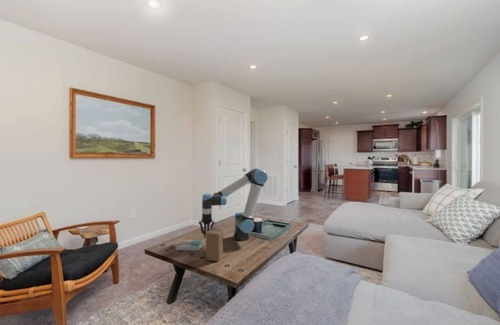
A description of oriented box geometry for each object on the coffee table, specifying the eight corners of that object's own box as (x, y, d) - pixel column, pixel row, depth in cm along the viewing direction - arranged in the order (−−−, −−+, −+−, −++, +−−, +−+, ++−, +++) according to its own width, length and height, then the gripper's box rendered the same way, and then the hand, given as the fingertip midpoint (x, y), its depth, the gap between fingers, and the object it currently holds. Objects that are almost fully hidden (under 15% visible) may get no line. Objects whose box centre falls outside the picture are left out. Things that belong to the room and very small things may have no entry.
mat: (180, 244, 190) (180, 244, 190) (176, 250, 179) (176, 250, 179) (171, 244, 190) (171, 244, 190) (166, 250, 179) (166, 250, 179)
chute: (202, 244, 191) (202, 240, 191) (199, 250, 179) (199, 246, 179) (181, 244, 191) (181, 240, 191) (176, 250, 179) (176, 246, 179)
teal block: (201, 245, 188) (200, 239, 188) (199, 248, 181) (199, 242, 181) (193, 245, 188) (193, 239, 188) (191, 248, 181) (191, 242, 181)
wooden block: (219, 261, 161) (218, 234, 160) (205, 260, 163) (205, 233, 162) (223, 255, 171) (223, 229, 170) (210, 254, 173) (210, 228, 172)
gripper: (215, 212, 187) (215, 240, 188) (199, 211, 187) (199, 240, 188) (214, 214, 180) (213, 243, 181) (197, 214, 180) (197, 243, 181)
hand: (206, 241), depth 184 cm, fingers closed
